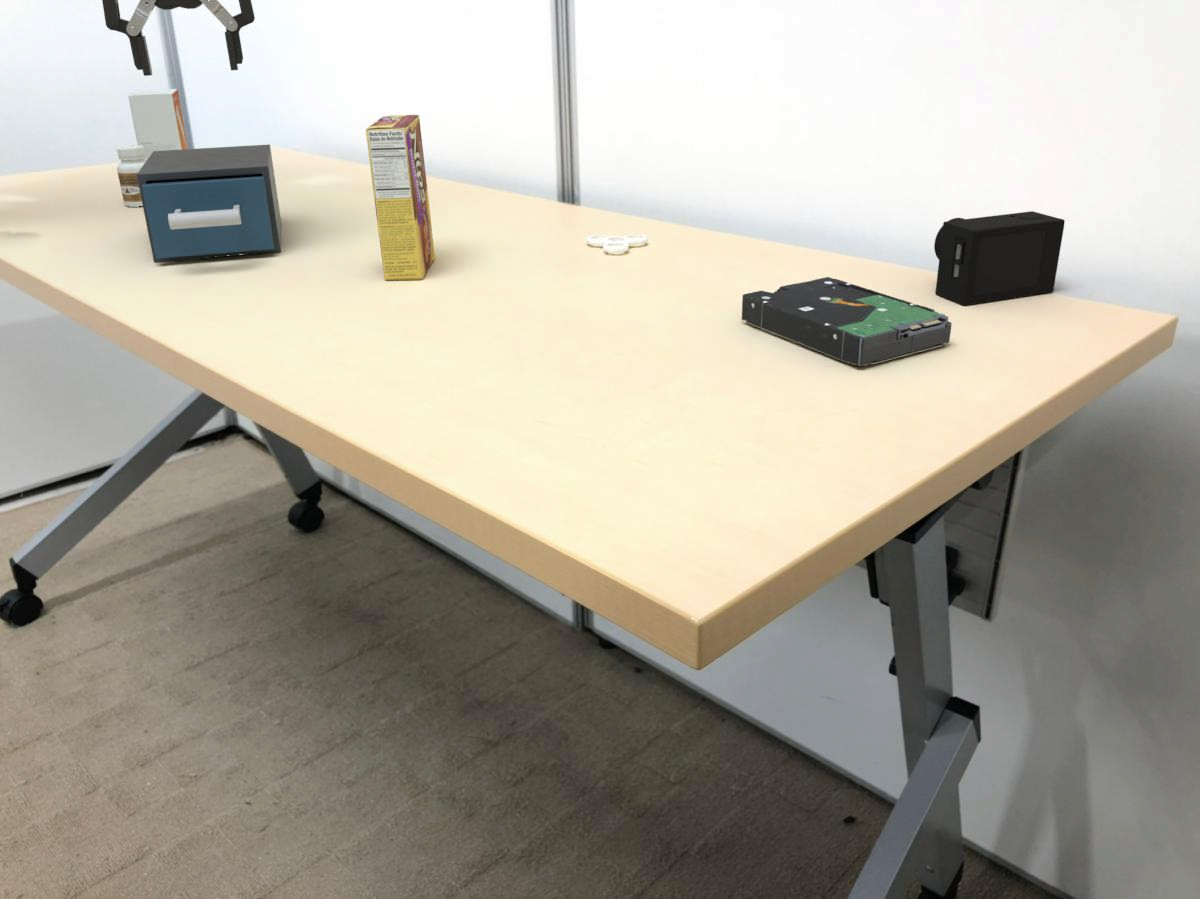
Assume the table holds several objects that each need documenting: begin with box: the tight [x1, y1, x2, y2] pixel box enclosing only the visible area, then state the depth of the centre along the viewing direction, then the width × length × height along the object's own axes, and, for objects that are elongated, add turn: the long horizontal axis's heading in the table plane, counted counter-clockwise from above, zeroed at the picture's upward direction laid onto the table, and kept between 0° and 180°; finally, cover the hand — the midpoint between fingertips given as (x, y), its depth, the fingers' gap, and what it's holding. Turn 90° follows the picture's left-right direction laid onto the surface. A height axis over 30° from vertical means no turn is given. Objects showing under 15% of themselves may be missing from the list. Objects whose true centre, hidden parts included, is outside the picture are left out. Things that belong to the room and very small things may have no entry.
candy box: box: [365, 114, 436, 281], centre depth 109 cm, size 9×4×15 cm, turn 179°
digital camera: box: [933, 210, 1066, 307], centre depth 99 cm, size 10×5×7 cm, turn 111°
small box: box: [128, 88, 189, 161], centre depth 162 cm, size 8×6×13 cm
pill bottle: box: [116, 144, 146, 208], centre depth 146 cm, size 4×4×8 cm
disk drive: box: [741, 276, 953, 367], centre depth 90 cm, size 10×3×15 cm
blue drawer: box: [142, 174, 274, 258], centre depth 119 cm, size 21×12×8 cm, turn 15°
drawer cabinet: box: [137, 144, 282, 263], centre depth 124 cm, size 17×14×10 cm
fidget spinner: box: [585, 233, 649, 254], centre depth 120 cm, size 7×6×1 cm
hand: (191, 72), depth 110 cm, fingers open, 8 cm apart
